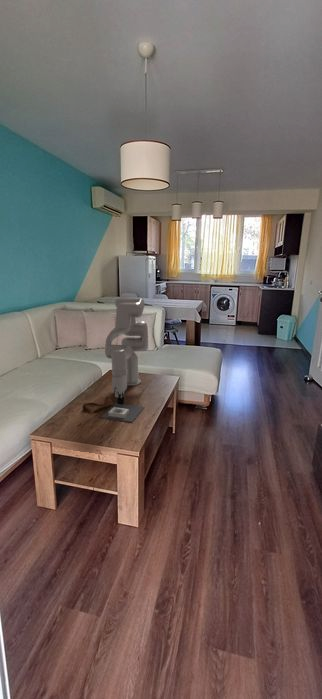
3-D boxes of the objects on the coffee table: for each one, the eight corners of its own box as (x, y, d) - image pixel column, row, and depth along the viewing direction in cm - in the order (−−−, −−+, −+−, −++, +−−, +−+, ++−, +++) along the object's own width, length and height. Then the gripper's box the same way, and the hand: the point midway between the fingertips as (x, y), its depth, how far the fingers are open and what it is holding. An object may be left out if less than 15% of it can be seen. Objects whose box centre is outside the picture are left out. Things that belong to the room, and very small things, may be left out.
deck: (113, 406, 179) (108, 412, 173) (128, 408, 177) (124, 414, 171) (113, 410, 180) (108, 416, 174) (129, 412, 177) (124, 418, 171)
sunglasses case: (91, 414, 177) (86, 402, 178) (85, 417, 182) (81, 405, 183) (117, 404, 189) (113, 393, 190) (111, 406, 194) (107, 396, 195)
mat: (115, 403, 190) (115, 402, 190) (144, 407, 184) (144, 406, 184) (100, 417, 173) (100, 416, 173) (132, 422, 168) (132, 421, 168)
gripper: (118, 366, 180) (120, 397, 185) (106, 375, 166) (108, 408, 171) (131, 368, 178) (132, 399, 183) (120, 377, 164) (121, 410, 169)
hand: (120, 403), depth 177 cm, fingers closed
